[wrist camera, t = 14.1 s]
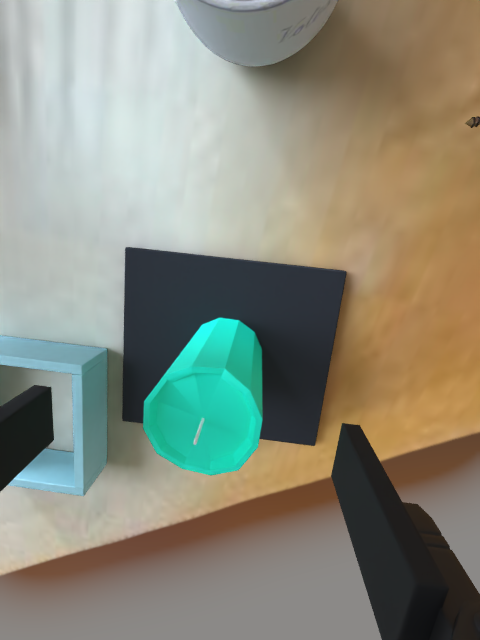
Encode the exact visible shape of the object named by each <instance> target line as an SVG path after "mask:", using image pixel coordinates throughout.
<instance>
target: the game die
mask: <svg viewBox="0 0 480 640" xmlns="http://www.w3.org/2000/svg"><path fill="white" fill-rule="evenodd" d="M465 124H467V125H469V126H470V127H471V128H472V127H473V126H475V127H477V126H478V125H480V117H476V118H475V117H472V118H471V119H470V120H469V121H467V122H466V123H465Z"/></svg>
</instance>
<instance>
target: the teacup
mask: <svg viewBox="0 0 480 640" xmlns="http://www.w3.org/2000/svg"><path fill="white" fill-rule="evenodd" d="M175 1H176V3H177V5H178V7H179V9H180V11H181V13H182V15H183V17H184V19H185V20H186V22H187V24H188V25H189V26H190V28H191V29H192V31H193V32H194V34H195V35H196V36H197V37H198V39H199V40H200V41H201V42H202V43H203V44H204V45H205V46H206V47H207V48H208V49H210V50H211V51H212V52H213V53H215V54H216V55H218V56H219V57H221V58H223V59H225V60H227V61H229V62H232V63H235V64H238V65H244V66H265V65H270V64H274V63H277V62H280V61H282V60H284V59H286V58H288V57H290V56H292V55H293V54H295V53H296V52H298V51H299V50H300V49H302V48H303V47H304V46H305V45H307V44H308V43H309V42H310V41H311V40H312V39H313V38H314V37H315V36H316V34H317V33H318V32H319V31H320V30H321V28H322V27H323V25H324V24H325V23H326V21H327V20H328V18H329V17H330V15H331V13H332V11H333V9H334V8H335V6H336V4H337V2H338V0H175Z"/></svg>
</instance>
